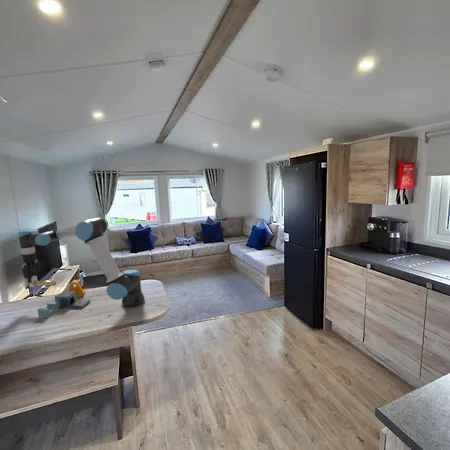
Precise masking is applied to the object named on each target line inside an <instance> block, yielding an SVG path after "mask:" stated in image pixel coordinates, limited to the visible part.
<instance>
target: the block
mask: <svg viewBox="0 0 450 450" xmlns="http://www.w3.org/2000/svg"><path fill="white" fill-rule="evenodd" d="M54 302H57V303H58V309H59V308H61V309H83V308H85V307H86V306H88V304H90V303H91V300H90V299H84V298H83V299H80V298H77V297H76V291H68V290H63V291H62V292H60V293H58V294H57V295H55V296H54Z"/></svg>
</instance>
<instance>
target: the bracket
mask: <svg viewBox="0 0 450 450" xmlns="http://www.w3.org/2000/svg"><path fill="white" fill-rule="evenodd" d="M67 291H76V298H81V297H82V296H84V295H85V293H86V290H85V289H83V288H82V286H81V285H80V281H79V280H77V279H73V280H72V281H71V282H70V285H69V286H68V290H67Z"/></svg>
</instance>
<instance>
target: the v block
mask: <svg viewBox="0 0 450 450" xmlns="http://www.w3.org/2000/svg"><path fill="white" fill-rule="evenodd" d="M58 311H59V308H58V303H57V302H55V301H53V302H52V301H48V302H46V307H39V308H38V309H37V314H38V315H37V316H38V318H40V319H42V318H44V319H45V318H46V319H47V318H50V317H51V316H52V315H54V314H55V313H56V312H58Z"/></svg>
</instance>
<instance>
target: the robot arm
mask: <svg viewBox="0 0 450 450" xmlns="http://www.w3.org/2000/svg"><path fill="white" fill-rule="evenodd" d="M108 227H109V226H108V222H107V220H105V219H104V218H103V217H94V218H89V219H85V220H82V221H80V222H78V223H77V224H74V225H70V226H66V227H61V228H55V229H52V230H48V231H44V232H40V233H33V230H31V229H27V230H20V231H19V232H18V239H19V246H20V252H21V259H22V260H23V264H21V265H20V268H21V270H22V274H23V278H24V279H27V283H28V286H29V288H35V286H34V283H33V281H39V280H38V279H39V278H38V276H39V275H40V259H36V258H37V254H36V253H37V252H36V248H35V246H47V245H49V244H50V243H51V242H55V241H59V240H64V239H68V238H74V237H77V239H79V240H80V241H83V243H84V244H85V245H87V246H89V248H90V249H91V250H92V253H93V255H94V257H95V259H96V260H97V262H98V265H99V266H100V268H101V270H102V271H103V274H104V276H105V277H106V282H105V283H106V284H107V285H106V286H107V287H106V291H105V292H106V293H107V296H108V297H109V298H111V300H112V299H113V300H116V301H117V300H119V301H120V300H121V305H122V306H123V307H125V308H133V307H138V306H140V305H143V303H145V296H144V293H143V291H142V285H141V284H142V283H141V273H140V271H139V270H137V269H127V270H123V271H122V272H121V271H120V269H119V267H118V265H117V263H116V261H115V260H114V258H113V256H112V254H111V252H110V250H109V248H108V246H107V244H106V242H105V241H104V237H105V235H104V233H106V232H107V230H108Z"/></svg>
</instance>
